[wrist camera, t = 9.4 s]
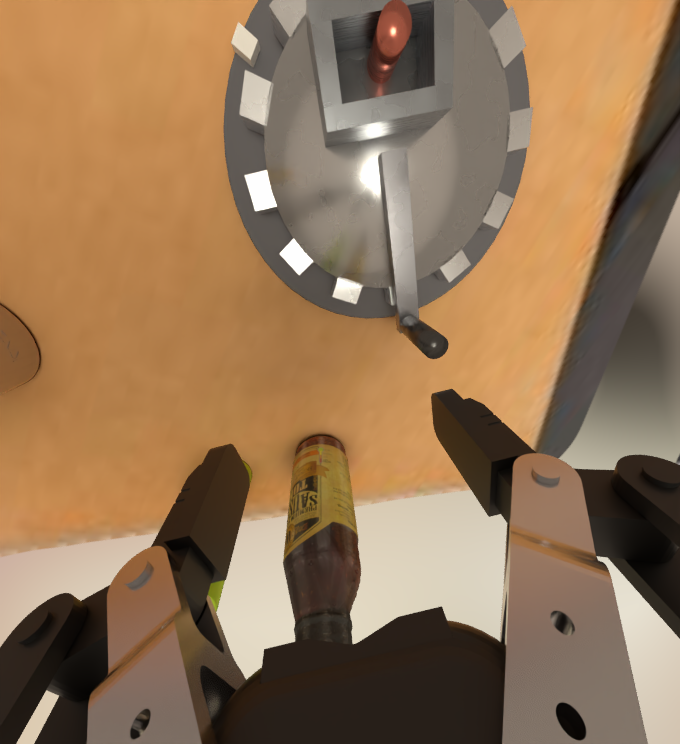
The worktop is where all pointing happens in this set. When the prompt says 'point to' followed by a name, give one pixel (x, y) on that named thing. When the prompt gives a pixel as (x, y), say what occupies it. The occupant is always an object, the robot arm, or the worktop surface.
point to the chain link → (356, 30)
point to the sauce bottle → (322, 543)
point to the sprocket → (387, 159)
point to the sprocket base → (247, 156)
